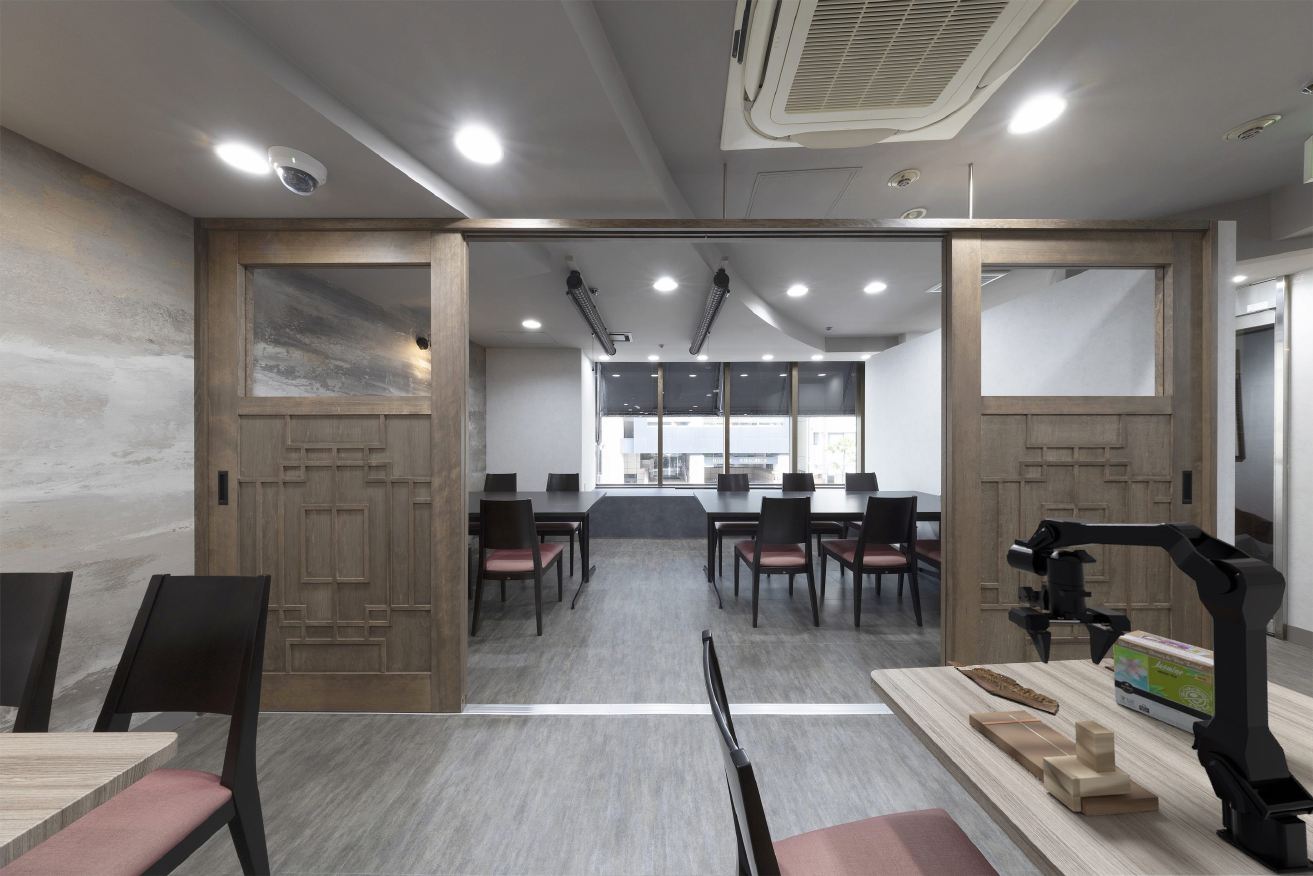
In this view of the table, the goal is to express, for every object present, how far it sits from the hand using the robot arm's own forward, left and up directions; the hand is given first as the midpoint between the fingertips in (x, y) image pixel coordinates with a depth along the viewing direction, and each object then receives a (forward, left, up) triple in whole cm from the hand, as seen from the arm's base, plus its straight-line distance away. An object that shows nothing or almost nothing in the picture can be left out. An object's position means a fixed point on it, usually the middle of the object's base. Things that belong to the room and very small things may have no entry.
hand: (1070, 663), depth 90 cm
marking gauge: (-15, +13, -14) cm, 24 cm away
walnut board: (-6, +11, -14) cm, 19 cm away
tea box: (+4, -26, -14) cm, 30 cm away
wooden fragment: (+20, -1, -15) cm, 25 cm away
